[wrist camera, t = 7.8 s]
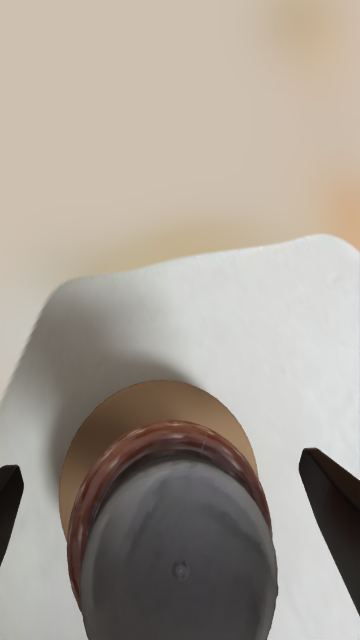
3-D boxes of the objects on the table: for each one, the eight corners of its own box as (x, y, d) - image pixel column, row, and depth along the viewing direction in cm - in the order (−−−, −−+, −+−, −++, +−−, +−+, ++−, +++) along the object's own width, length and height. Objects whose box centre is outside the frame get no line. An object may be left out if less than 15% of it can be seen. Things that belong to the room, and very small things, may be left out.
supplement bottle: (93, 535, 15) (-47, 763, 5) (124, 415, 17) (77, 386, 7) (206, 559, 15) (326, 843, 5) (222, 437, 17) (328, 440, 7)
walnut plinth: (212, 620, 16) (221, 650, 14) (35, 533, 17) (16, 549, 15) (265, 424, 20) (280, 423, 18) (121, 362, 21) (117, 353, 19)
